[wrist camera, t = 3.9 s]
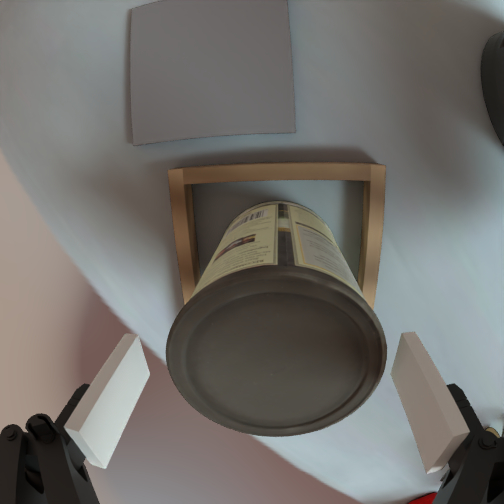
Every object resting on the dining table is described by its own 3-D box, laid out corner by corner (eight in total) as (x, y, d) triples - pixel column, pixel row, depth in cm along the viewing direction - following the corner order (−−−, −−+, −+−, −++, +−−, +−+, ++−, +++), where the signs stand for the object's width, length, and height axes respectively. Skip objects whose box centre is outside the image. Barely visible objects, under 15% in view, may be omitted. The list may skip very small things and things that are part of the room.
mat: (136, 12, 19) (131, 8, 18) (285, -10, 18) (285, -15, 17) (138, 145, 24) (133, 145, 23) (295, 133, 22) (295, 132, 21)
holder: (176, 167, 24) (167, 170, 22) (377, 163, 22) (385, 165, 21) (197, 336, 30) (192, 348, 28) (361, 335, 28) (366, 347, 26)
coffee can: (291, 329, 29) (293, 455, 15) (198, 272, 27) (135, 381, 14) (362, 246, 25) (429, 348, 12) (263, 174, 24) (241, 218, 11)
